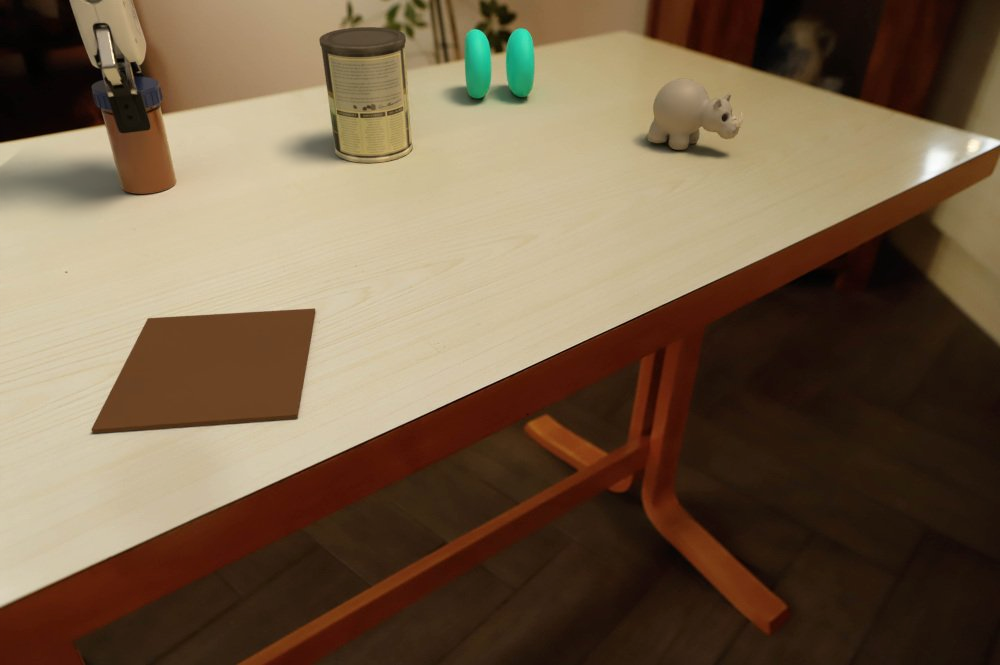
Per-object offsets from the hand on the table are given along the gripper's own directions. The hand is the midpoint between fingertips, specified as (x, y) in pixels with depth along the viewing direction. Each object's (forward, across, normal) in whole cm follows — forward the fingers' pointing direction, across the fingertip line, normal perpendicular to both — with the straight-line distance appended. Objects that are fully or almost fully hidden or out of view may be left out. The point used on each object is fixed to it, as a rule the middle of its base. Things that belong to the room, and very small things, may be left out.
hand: (136, 118), depth 81 cm
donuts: (+9, +19, -50) cm, 54 cm away
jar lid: (-3, 0, 0) cm, 3 cm away
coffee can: (+9, +3, -27) cm, 28 cm away
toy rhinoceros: (+9, -11, -67) cm, 68 cm away
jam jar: (+8, 0, +1) cm, 8 cm away
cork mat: (+8, -40, -5) cm, 41 cm away
